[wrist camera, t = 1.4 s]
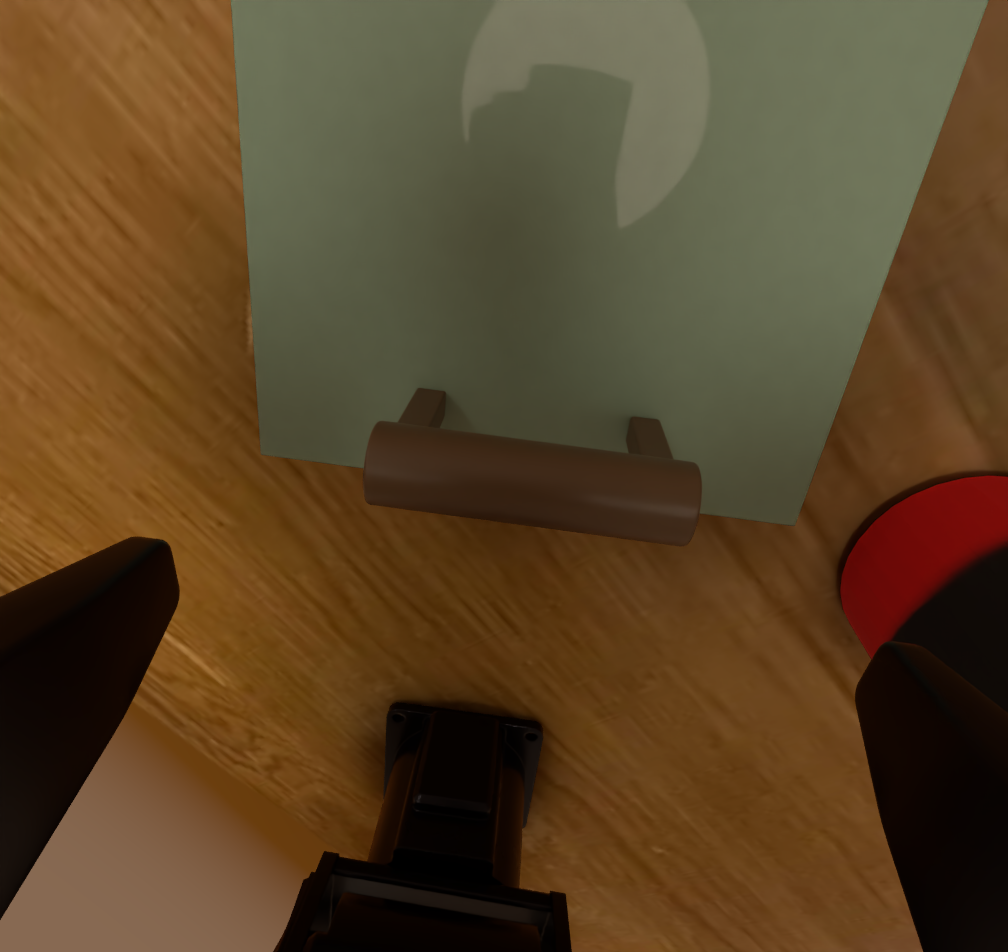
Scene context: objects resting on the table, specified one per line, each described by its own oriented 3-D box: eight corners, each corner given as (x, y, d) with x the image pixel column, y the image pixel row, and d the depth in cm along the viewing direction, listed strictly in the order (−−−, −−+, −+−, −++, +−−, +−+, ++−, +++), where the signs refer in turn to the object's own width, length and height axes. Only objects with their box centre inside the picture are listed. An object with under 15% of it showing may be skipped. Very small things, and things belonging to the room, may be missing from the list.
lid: (786, 512, 17) (865, 641, 12) (271, 444, 17) (171, 547, 13) (1000, -84, 11) (1277, -227, 7) (235, -175, 12) (38, -367, 7)
